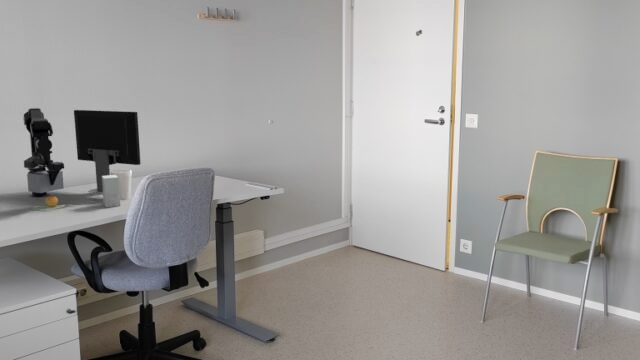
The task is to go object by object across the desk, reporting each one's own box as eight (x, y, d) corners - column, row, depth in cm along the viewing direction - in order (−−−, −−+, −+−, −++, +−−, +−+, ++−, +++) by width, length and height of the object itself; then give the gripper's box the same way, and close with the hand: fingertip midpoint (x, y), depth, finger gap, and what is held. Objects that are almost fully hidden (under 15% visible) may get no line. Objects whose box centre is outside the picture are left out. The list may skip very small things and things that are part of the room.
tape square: (30, 209, 266) (30, 208, 266) (49, 204, 275) (49, 204, 275) (46, 211, 262) (46, 210, 262) (65, 206, 271) (65, 206, 271)
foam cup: (126, 200, 282) (124, 173, 279) (108, 200, 284) (106, 172, 281) (136, 196, 291) (135, 169, 289) (119, 195, 293) (117, 169, 290)
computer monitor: (145, 193, 297) (140, 111, 290) (133, 196, 290) (127, 112, 283) (86, 186, 316) (80, 109, 309) (73, 189, 309) (66, 110, 301)
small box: (120, 206, 271) (118, 177, 269) (105, 207, 268) (103, 178, 266) (118, 202, 278) (116, 174, 276) (103, 204, 275) (101, 175, 273)
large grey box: (28, 191, 264) (27, 173, 262) (51, 187, 274) (50, 170, 273) (40, 193, 260) (39, 175, 259) (63, 188, 271) (62, 171, 270)
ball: (46, 193, 270) (53, 199, 274) (41, 202, 268) (48, 208, 271) (55, 193, 268) (62, 199, 272) (49, 203, 266) (56, 209, 270)
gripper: (11, 150, 261) (15, 185, 264) (41, 152, 253) (45, 189, 256) (33, 147, 271) (36, 181, 274) (63, 149, 263) (66, 184, 265)
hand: (45, 184), depth 267 cm, fingers closed on large grey box, 8 cm apart
